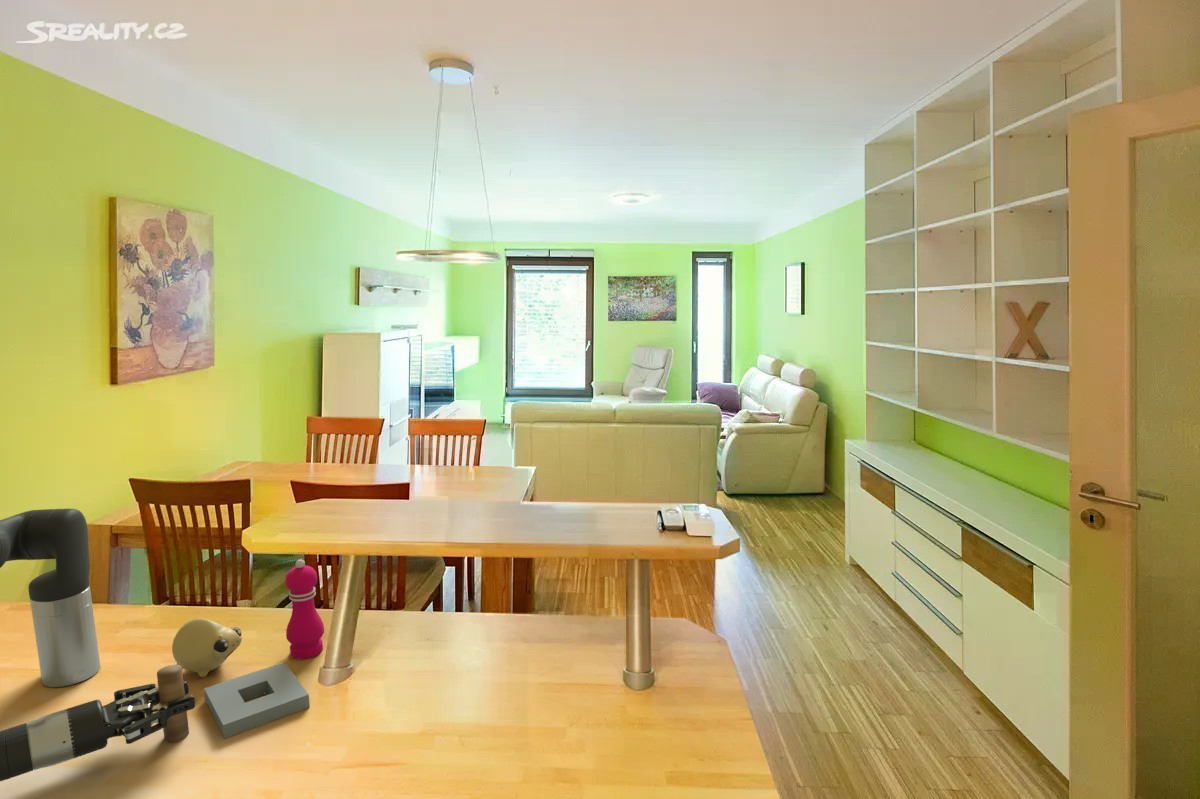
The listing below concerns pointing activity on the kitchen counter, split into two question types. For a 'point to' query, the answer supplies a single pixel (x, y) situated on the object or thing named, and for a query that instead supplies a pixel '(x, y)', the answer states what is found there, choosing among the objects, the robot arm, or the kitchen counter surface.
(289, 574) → the pepper mill
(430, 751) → the kitchen counter surface
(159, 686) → the pin
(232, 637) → the beige animal figure
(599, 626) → the kitchen counter surface
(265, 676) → the socket
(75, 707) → the robot arm
